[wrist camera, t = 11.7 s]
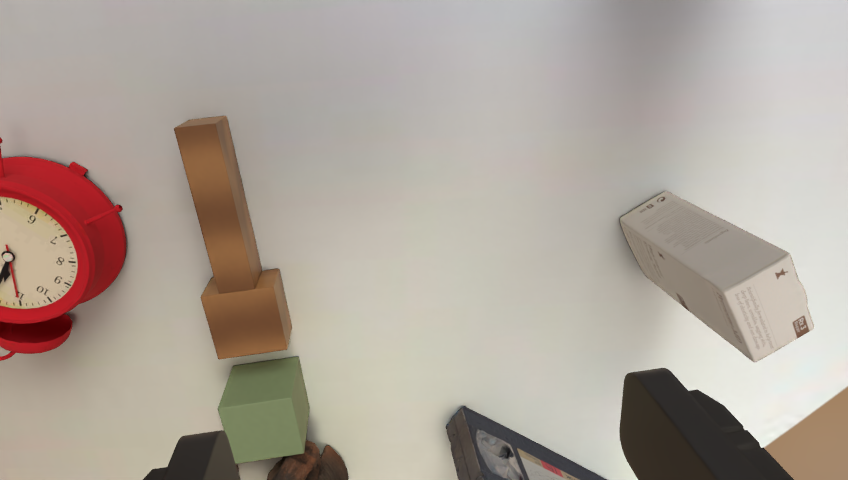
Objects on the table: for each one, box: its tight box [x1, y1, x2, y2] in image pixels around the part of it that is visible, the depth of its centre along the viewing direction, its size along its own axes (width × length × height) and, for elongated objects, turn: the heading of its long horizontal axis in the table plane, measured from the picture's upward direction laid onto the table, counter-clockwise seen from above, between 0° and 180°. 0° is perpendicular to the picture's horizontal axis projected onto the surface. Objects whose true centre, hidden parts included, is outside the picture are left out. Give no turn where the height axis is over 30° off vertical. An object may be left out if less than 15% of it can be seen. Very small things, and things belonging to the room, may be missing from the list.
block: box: [218, 357, 309, 464], centre depth 39 cm, size 5×5×5 cm
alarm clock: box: [0, 138, 126, 361], centre depth 33 cm, size 10×6×15 cm
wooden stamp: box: [174, 116, 292, 359], centre depth 35 cm, size 16×5×3 cm, turn 6°
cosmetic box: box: [620, 191, 814, 362], centre depth 35 cm, size 6×4×12 cm
